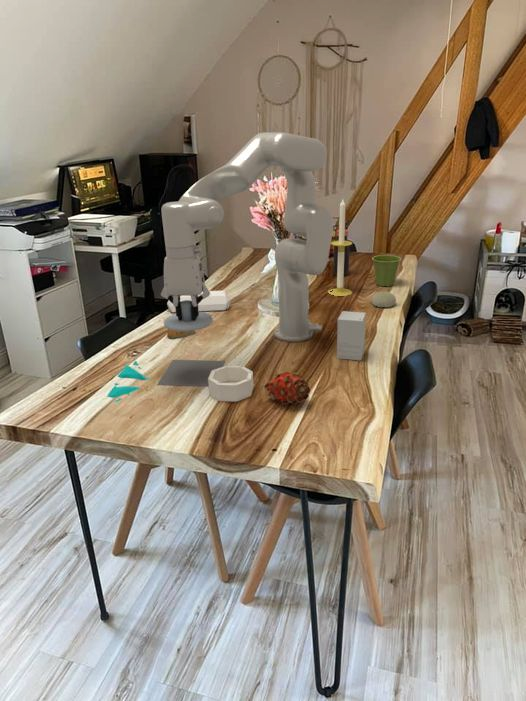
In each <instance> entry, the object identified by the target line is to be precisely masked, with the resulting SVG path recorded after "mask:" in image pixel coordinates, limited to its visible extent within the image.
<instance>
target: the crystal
mask: <svg viewBox="0 0 526 701" xmlns="http://www.w3.org/2000/svg"><path fill="white" fill-rule="evenodd" d="M209 292H210V295H209V296H208V297H206V298H205V299H203V300H202V301H201V302H200V303H199V304H198V310H199V312H207V311H208V312H209V311H226V309H227V310H228V309H229V307H230V305H231V299H230V297H229V295H228V293H227V292H226V291H225V290H209ZM201 294H203V292H202V293H201ZM201 294H200V295H201ZM200 295H198V297H199V296H200ZM167 300H168V299H167ZM185 300H190V301H192V300H191V296H180V302H181V301H185ZM166 305H167V308H168V309H169V310H170V312H171V313H176V309H175V306H174V305H173V303H171V302H170V301H169V300H168V301H167V303H166Z"/></svg>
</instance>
